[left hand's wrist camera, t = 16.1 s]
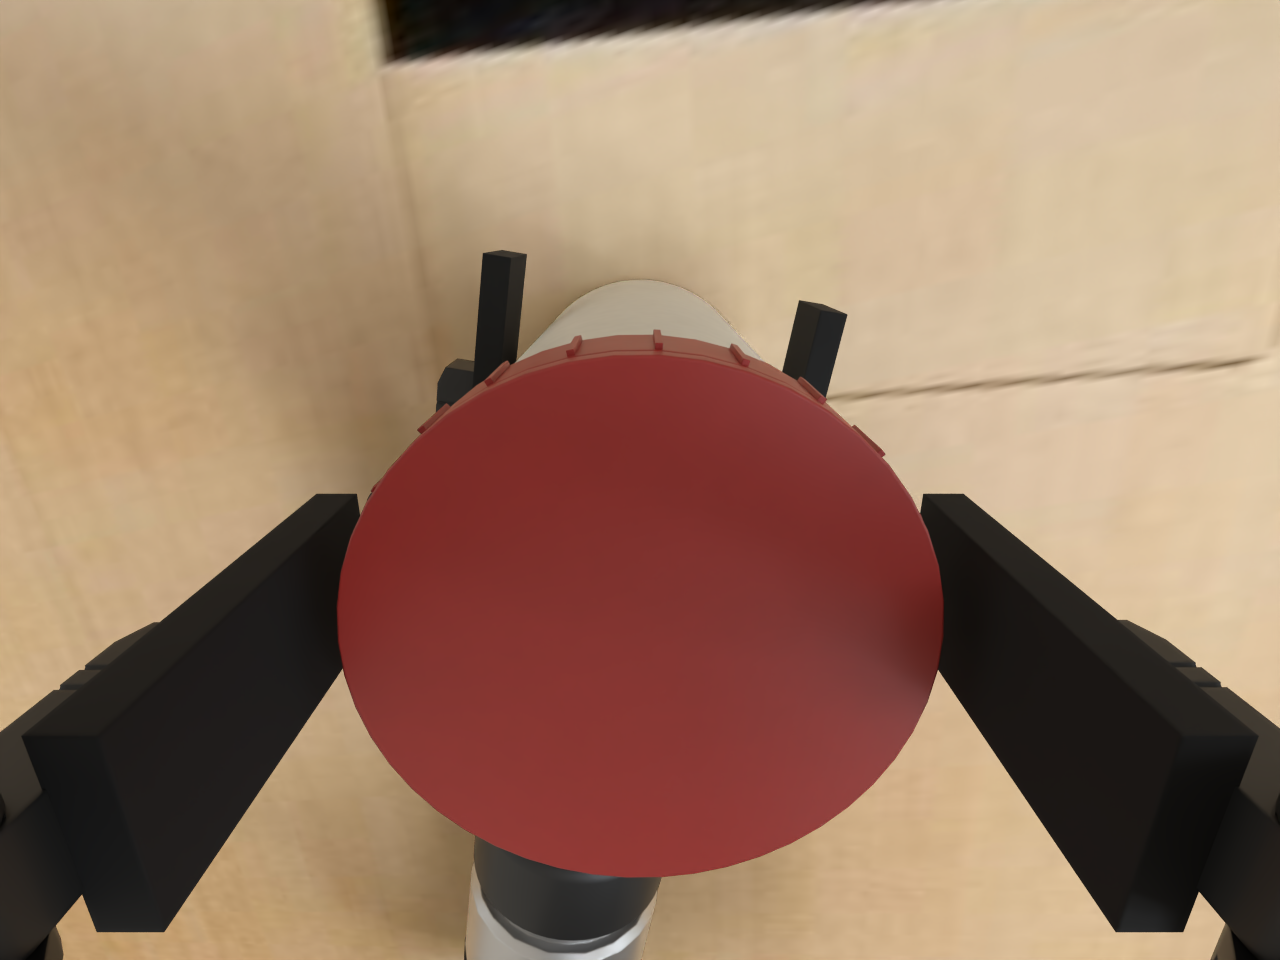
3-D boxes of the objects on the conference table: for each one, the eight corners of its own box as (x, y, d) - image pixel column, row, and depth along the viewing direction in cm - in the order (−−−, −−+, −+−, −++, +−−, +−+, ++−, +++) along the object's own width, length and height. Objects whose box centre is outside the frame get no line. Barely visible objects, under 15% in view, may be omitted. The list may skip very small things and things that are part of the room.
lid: (279, 441, 11) (211, 482, 9) (831, 242, 10) (871, 246, 8) (504, 844, 14) (484, 932, 12) (947, 723, 13) (995, 800, 11)
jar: (731, 258, 25) (895, 312, 9) (760, 472, 28) (924, 800, 12) (508, 302, 26) (287, 427, 10) (559, 507, 29) (455, 868, 12)
